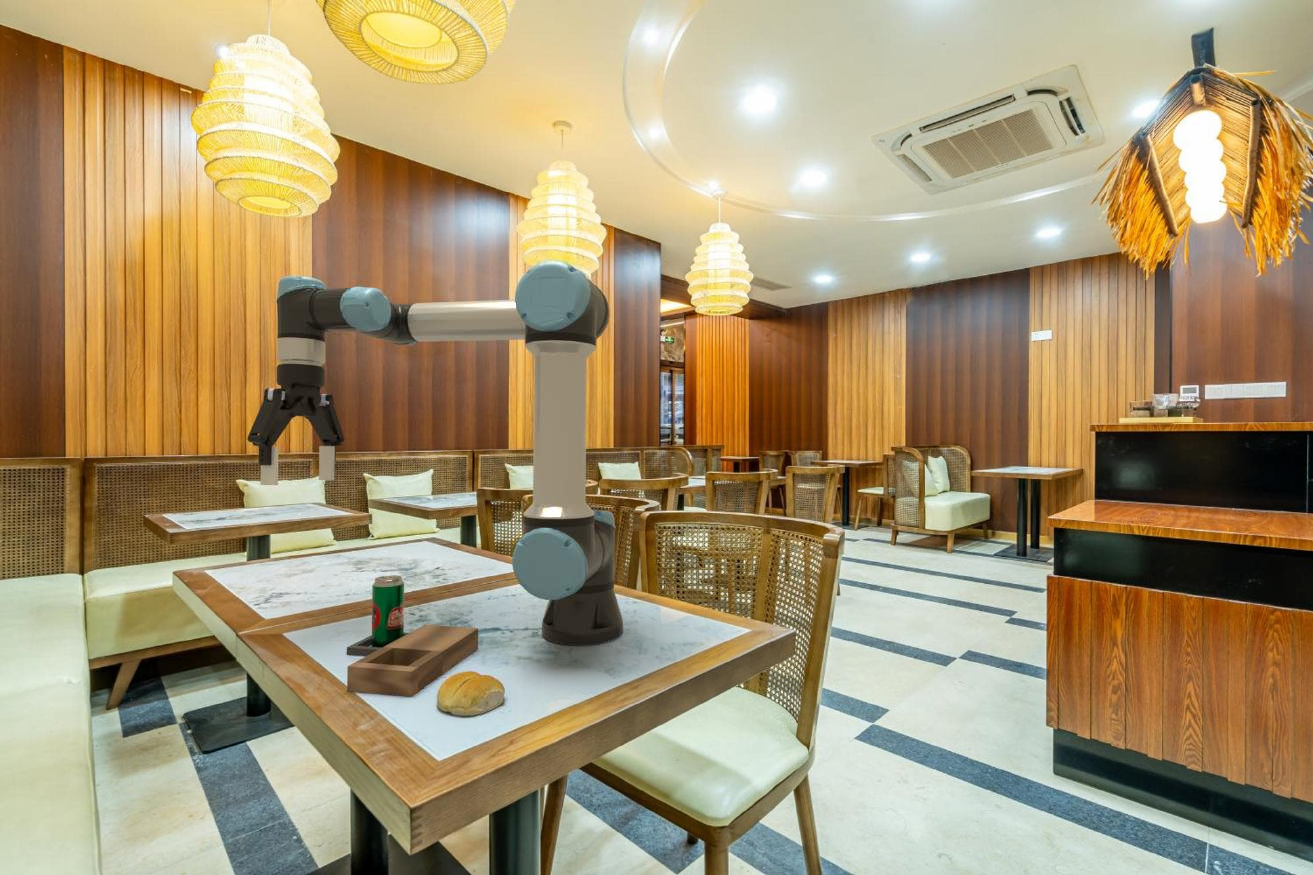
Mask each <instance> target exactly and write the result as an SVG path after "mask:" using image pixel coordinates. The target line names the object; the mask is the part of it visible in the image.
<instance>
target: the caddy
mask: <svg viewBox="0 0 1313 875" xmlns="http://www.w3.org/2000/svg"><path fill="white" fill-rule="evenodd" d="M408 633H409V634H407V635H405V636H403V637H401V638H399V639H398V640H396V641H394V642H392V643H390V644H388V645H386V646H385V647H383V648H381V649H379V650H377V651H375V652H373V653H371V654H370V655H368V656H363V658H361V659H359V660H357V661H355V662H352V663H351V664H349V665H347V670H346V671H347V676H346V677H347V678H346V679H347V680H346V681H347V685H346V689H347V690H346V691H347V692H355V693H367V694H376V695H388V696H400V697H410V698H411V697H413V696H414V695H416V694H417V693H419V692H420V691H421V690H423V689H424V688H426V687H427V686H429V684H431V683H432V682H434V681H435V680H437V679H438V678H439V677H441V676H442V675H443V674H445V673H447V672H448V671H449V670H451V669H452V668H453V667H455V666H457V664H459V663H460V662H462V661H463V660H465V659H466V658H467V657H468V656H470V655H472V654H474V652H475V651H477V650H478V649H479V628H478V627H477V628H476V627H465V626H463V627H462V626H452V625H451V626H449V625H435V624H434V625H433V624H424V625H422V626H420V627H418V628H417V629H415V630H413V631H411V632H408Z"/></svg>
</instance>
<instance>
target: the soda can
mask: <svg viewBox="0 0 1313 875" xmlns="http://www.w3.org/2000/svg"><path fill="white" fill-rule="evenodd" d="M371 587H372V589H371V592H372V593H371V635H372V645H371V647H379V648H383V647H385V646H386V645H388V644H390V643H392V642H394V641H396V640H398V639H399V638H401V637H403V636H404V631H405V629H404V628H405V582H404V580H403V577H402V576H401V575H396V574H395V575H394V574H393V575H382V576H377V577H375V578H374V582H373V583H372V584H371Z"/></svg>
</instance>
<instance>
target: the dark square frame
mask: <svg viewBox="0 0 1313 875" xmlns="http://www.w3.org/2000/svg"><path fill="white" fill-rule="evenodd" d="M409 633H410V632H404V636H405V635H407V634H409ZM379 649H381V648H379V647H372V634H371V635H369V636H368V637H365V638H363V639H360V640H359V641H357V642H354V643H353V644H351V645H348V646H346V655H349V656H362V657H366V656H368V655H370V654H371V653H373V652H375V651H377V650H379Z"/></svg>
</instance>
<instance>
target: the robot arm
mask: <svg viewBox="0 0 1313 875" xmlns="http://www.w3.org/2000/svg"><path fill="white" fill-rule="evenodd" d="M277 286H278V287H277V298H276V309H277V310H276V313H277V335H276V340H277V348H276V350H277V351H276V361H277V362H279V364H277V366H276V384H277V385H278V386H280V388H274V387H273V388H265V389H264V394H263V399H262V400H263V401H262V403H261V406H260V408H259V410H258V413H257V414H256V417H255V420H254V421H253V423H252V426H251V428H250V430H249V434H248V436H247V442H248V443H252V445H253V446H254V447H258V465H259V466H260V486H278V485H279V446H274V445H275V444H276V442H277V441H278V440H279V439H280V436H281V435H282V433H283V432H284V431H285V429H287V427H288V425H289V424H290V423H291V421H292V419H293V418H295V417H302V418H303V417H304V418H305V419H306V420H308V422H309V423H310V425H311V427H312V428H313V430H314V431H315V433H316V435H317V437H318V438H319V440H320V442H321V444H322V445H319V450H318V451H319V452H318V453H319V455H318V456H319V459H318V462H319V463H318V466H319V467H318V480H319V481H335V462H336V460H337V456H336V455H337V447H339V446H340V447H341V446H342V443H344V442H345V436H344V432H343V430H342V427H341V423H340V421H339V418H338V415H337V411H336V408H335V405H334V395H333V393H322V394H321V392H320V391H321V388H323V387H325V383H326V382H325V380H326V379H325V378H326V375H325V374H326V369H325V368H324V367H323V365H325V364H326V333H327V332H329V333H330V332H351V333H356V334H359V335H363V336H367V337H371V338H375V339H378V340H382V341H384V342H389V343H391V344H393V345H398V346H413V345H416V344H417V343H421V342H465V341H467V342H468V341H469V342H471V341H472V342H473V341H512V340H513V341H517V340H518V341H519V340H520V341H521V340H522V341H523V340H524V347H525V348H526V350H527V351H528V352H529V353H530V354H532V357H533V359H534V366H533V367H534V368H533V369H534V371H533V372H534V373H533V374H534V379H533V454H532V455H533V456H532V459H533V464H532V465H533V470H532V477H533V478H532V503H531V504H530V505H529V507H528V508H527V509H525V511H523V514H522V515H523V517H522V518H523V520H522V521H523V522H522V537H521V538H520V539H519V540H518V542H517V543H516V546H515V547H514V550H513V552H512V560H511V561H512V562H511V563H512V570H513V573H514V577H515V578H516V580H517V582H518V584H519V585H520V587H522V588H523V589H524V590H525V591H526V592H527V593H529V594H530V595H532V596H533V597H535V598H537V599H540V600H544V601H548V602H547V606H546V609H545V611H544V615H543V617H542V620H541V636H542V638H544V639H545V640H547V641H548V642H552V643H555V644H560V645H568V646H591V645H598V644H604V643H608V642H611V641H613V640H616V639H618V638H620V637H621V636H622V635H623V633H624V619H623V616H622V612H621V609H620V605H619V602H618V599H617V596H616V593H615V547H616V546H615V544H616V542H615V541H616V540H615V537H616V536H615V534H616V529H617V528H616V524H615V516H614V514H613V513H612V512H611V511H609V510H595V509H594V510H593V509H592V508H591V507H590V506H589V505H588V504H587V502H586V491H587V490H586V489H587V488H586V486H587V484H586V478H587V477H586V476H587V474H586V472H587V470H586V468H587V466H586V465H587V463H586V461H587V460H586V459H587V458H586V457H587V455H586V454H587V385H588V384H587V373H588V372H587V369H588V368H587V367H588V366H587V364H588V363H587V362H588V359H589V357H590V356H591V355H592V354H593V353H594V352H595V351H596V350H597V340H598V339H599V338H600V337H602V335H603V334H604V332H605V330H606V329H607V327H608V325H609V321H610V305H609V302H608V299H607V297H606V296H605V293H604V292H603V291H602V290H601V289H600V287H598V286H597V285H596V284H594V283H593V281H591V280H590V279H589V277H587V275H586V274H585V273H584V272H583V270H581V269H579V268H578V267H576V266H574V265H572V264H571V263H568V262H567V261H566V262H565V261H563V260H558V259H551V260H548V259H547V260H543V261H541V262H538V263H536V264H534V265H532V266H531V267H530V268H529V269H528V270H527V271H526V272H525V273H523V275H522V276H521V278H520V280H519V281H518V283H517V286H516V289H515V292H514V293H515V294H514V299H497V300H496V299H495V300H494V299H493V300H492V299H491V300H470V301H468V300H467V301H466V300H465V301H463V300H462V301H445V302H444V301H439V302H415V303H394V301H393V302H392V301H389V299H388V296H385V294H384V292H383V291H382V290H380V289H378V288H376V287H365V286H364V287H363V286H354V287H342V288H341V287H340V288H327V287H326V284H325V282H323V281H322V280H320V279H317V278H315V277H310V276H299V275H287V276H284V277H282V278H280V279H279V282H278V285H277Z"/></svg>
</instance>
